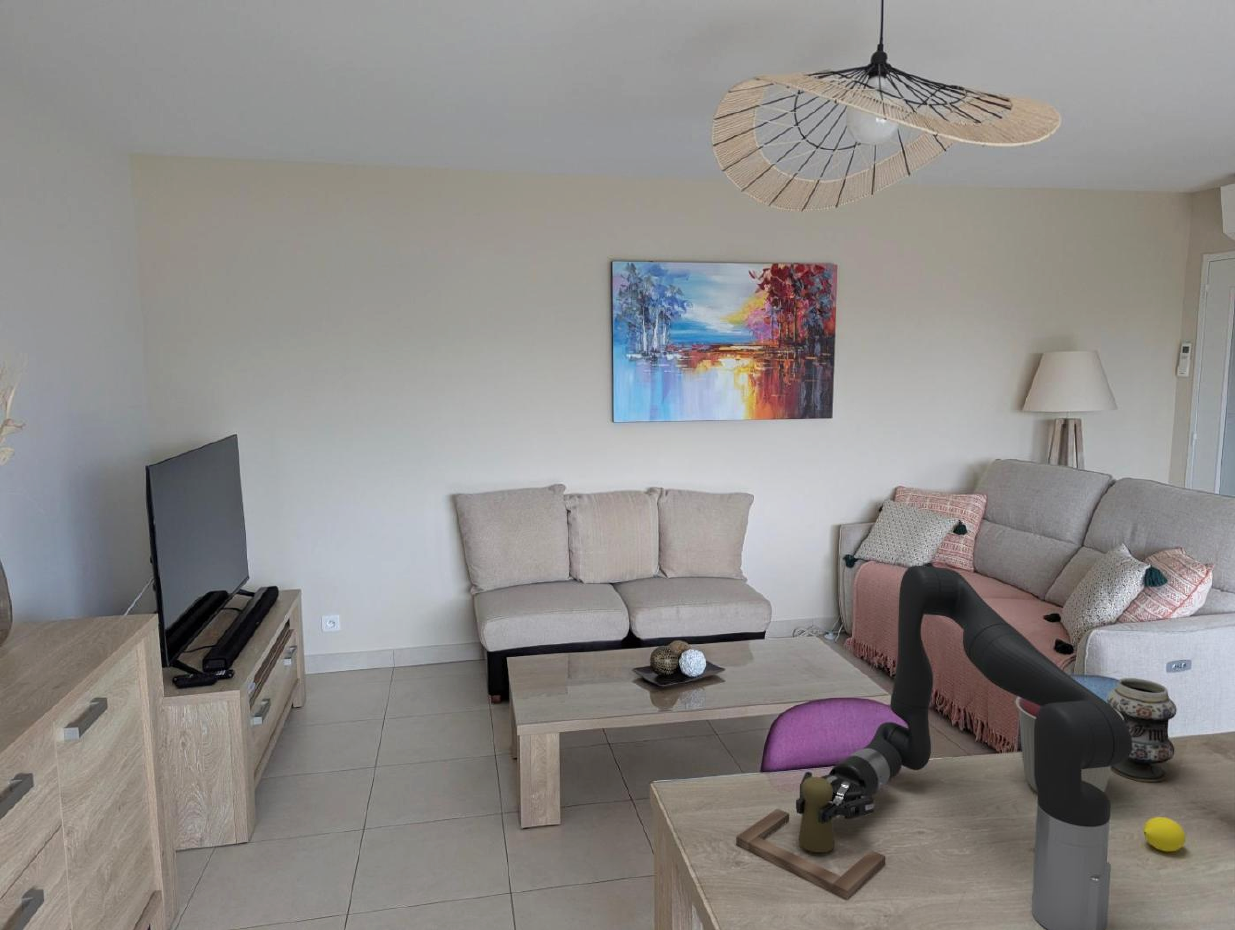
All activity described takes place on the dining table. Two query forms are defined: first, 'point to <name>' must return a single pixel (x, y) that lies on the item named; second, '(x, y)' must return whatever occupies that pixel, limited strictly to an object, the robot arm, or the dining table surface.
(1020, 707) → the canister
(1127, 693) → the apothecary jar
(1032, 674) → the robot arm
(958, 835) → the dining table surface
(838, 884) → the walnut cradle
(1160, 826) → the lemon
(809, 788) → the cork
